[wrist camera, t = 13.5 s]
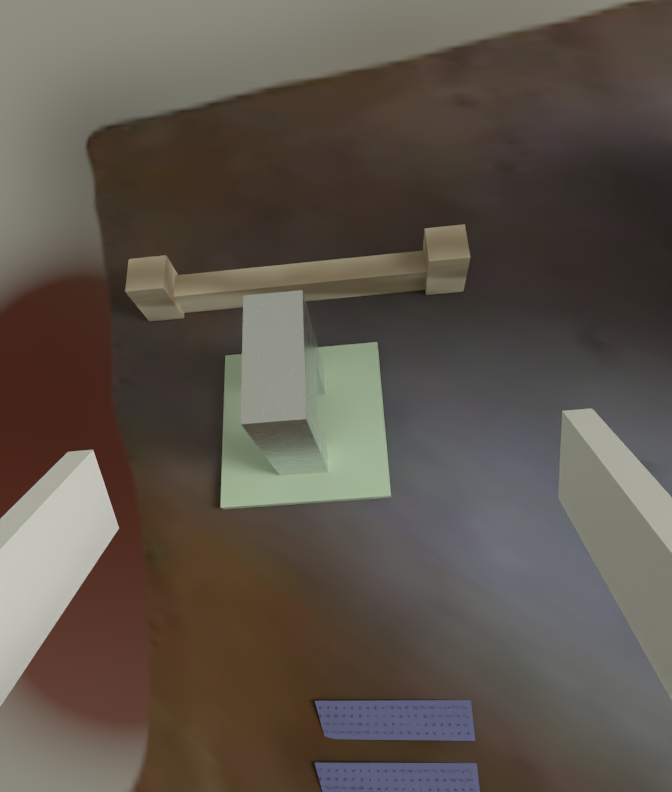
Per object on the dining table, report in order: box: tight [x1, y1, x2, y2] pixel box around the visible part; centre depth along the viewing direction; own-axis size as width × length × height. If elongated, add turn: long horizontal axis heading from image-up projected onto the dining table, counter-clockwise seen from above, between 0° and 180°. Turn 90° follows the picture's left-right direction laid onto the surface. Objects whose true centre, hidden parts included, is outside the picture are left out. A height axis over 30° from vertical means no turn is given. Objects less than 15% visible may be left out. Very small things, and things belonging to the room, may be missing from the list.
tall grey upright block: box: [241, 290, 329, 476], centre depth 36 cm, size 8×4×11 cm, turn 3°
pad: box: [220, 342, 391, 509], centre depth 41 cm, size 12×12×1 cm
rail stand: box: [125, 224, 470, 321], centre depth 44 cm, size 3×26×4 cm, turn 93°
